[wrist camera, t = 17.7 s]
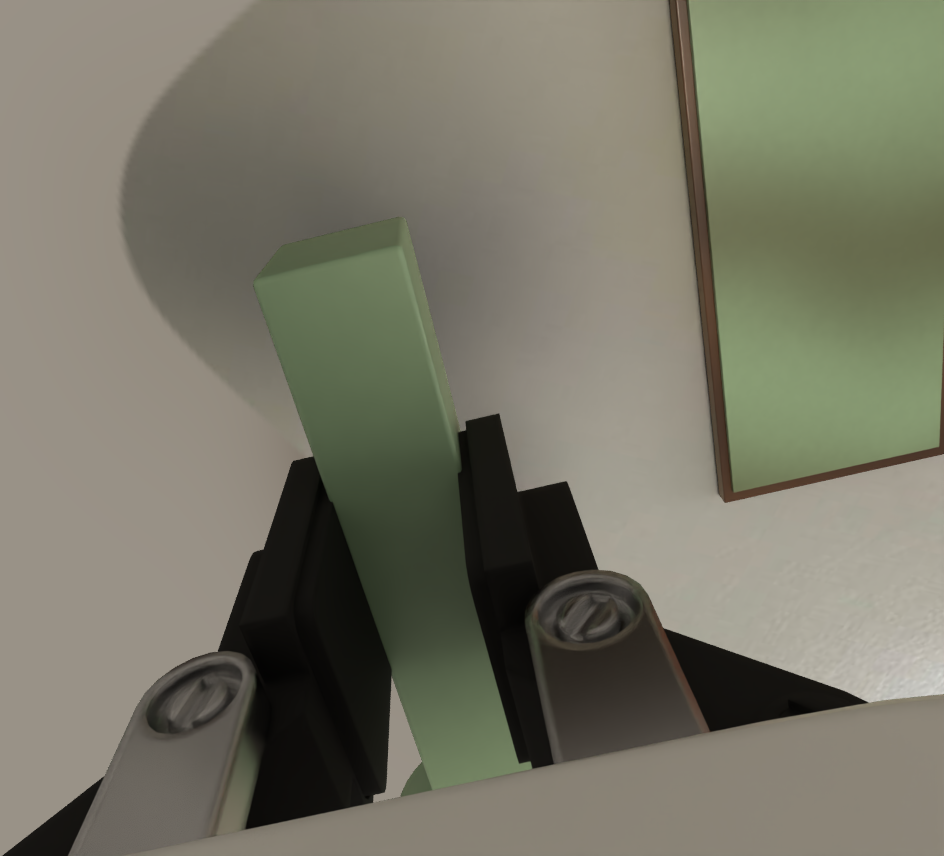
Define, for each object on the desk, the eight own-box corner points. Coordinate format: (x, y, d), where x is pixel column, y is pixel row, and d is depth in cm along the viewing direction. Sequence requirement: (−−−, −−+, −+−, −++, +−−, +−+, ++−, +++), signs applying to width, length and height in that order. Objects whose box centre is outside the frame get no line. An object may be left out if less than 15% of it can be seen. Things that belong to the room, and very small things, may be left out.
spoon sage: (181, 269, 11) (126, 314, 9) (505, 190, 11) (524, 218, 9) (429, 901, 17) (430, 1013, 15) (638, 857, 16) (668, 966, 15)
